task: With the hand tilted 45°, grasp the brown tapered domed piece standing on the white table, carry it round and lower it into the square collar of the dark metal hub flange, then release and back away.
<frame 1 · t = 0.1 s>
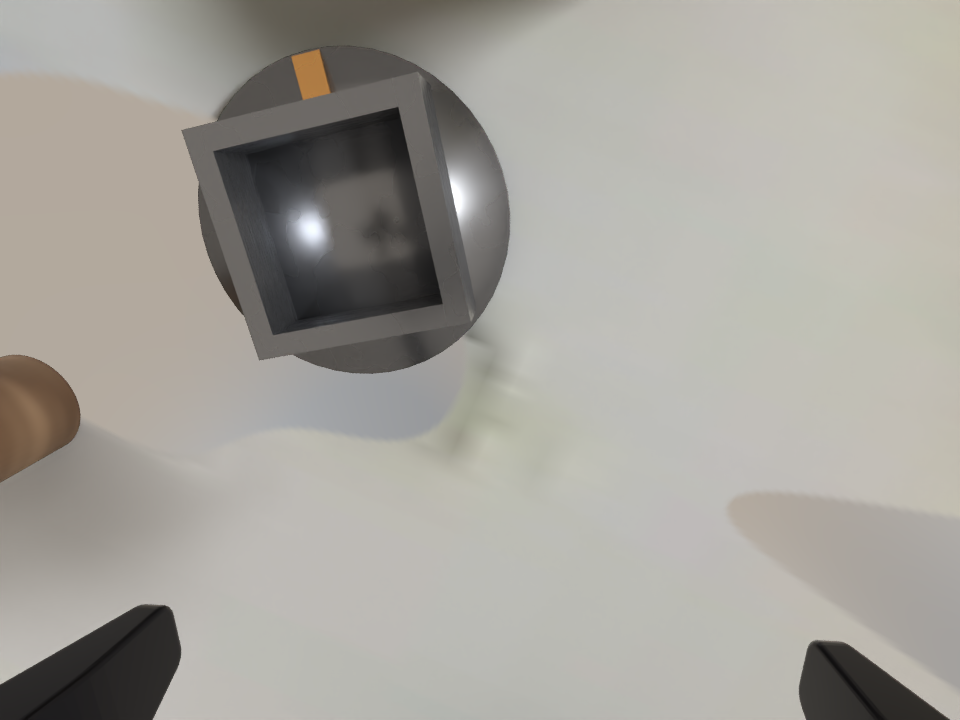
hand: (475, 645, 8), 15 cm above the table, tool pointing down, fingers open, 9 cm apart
hub: (356, 223, 20), on the table
brown tapered domed piece: (30, 404, 24), on the table
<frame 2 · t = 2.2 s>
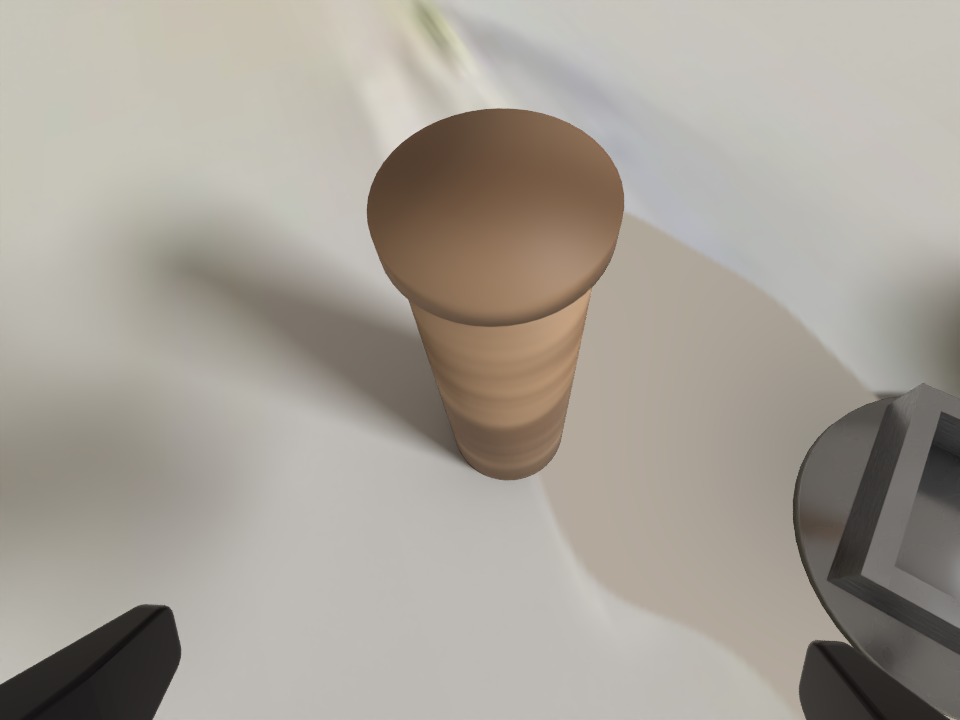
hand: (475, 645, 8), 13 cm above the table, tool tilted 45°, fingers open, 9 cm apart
brown tapered domed piece: (508, 427, 23), on the table
when the fingers open (9 cm above the table, at t = 9.4 s): brown tapered domed piece drops 1 cm, resting on hub.
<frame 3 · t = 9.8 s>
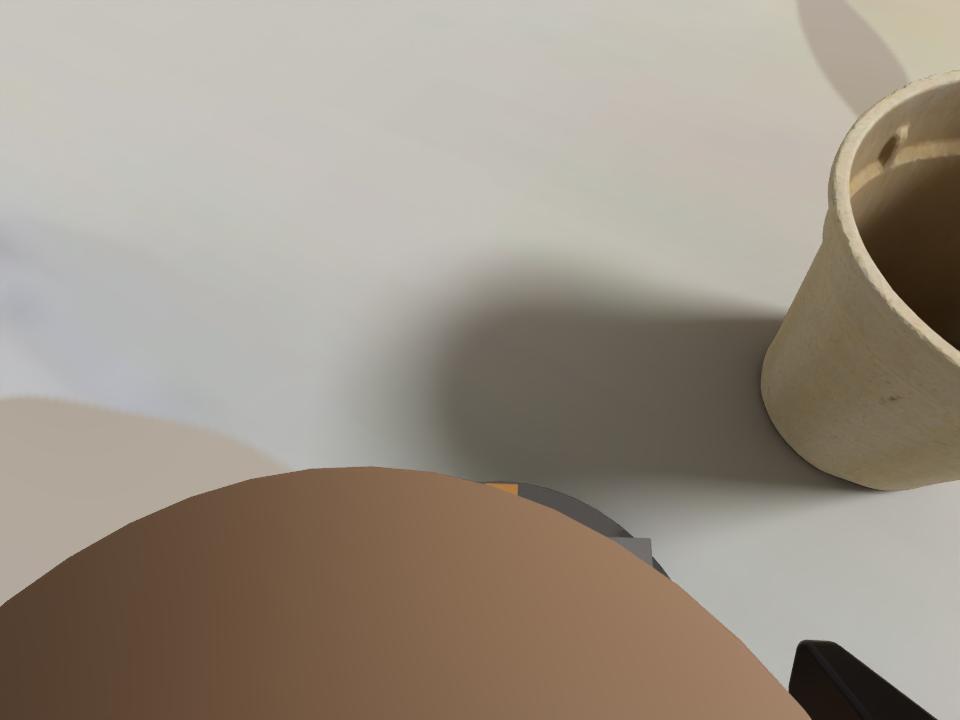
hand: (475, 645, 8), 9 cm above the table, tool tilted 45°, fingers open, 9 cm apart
hub: (496, 697, 15), on the table
brown tapered domed piece: (494, 702, 14), point 1 cm above the table, touching hub
flower pot: (849, 400, 18), on the table
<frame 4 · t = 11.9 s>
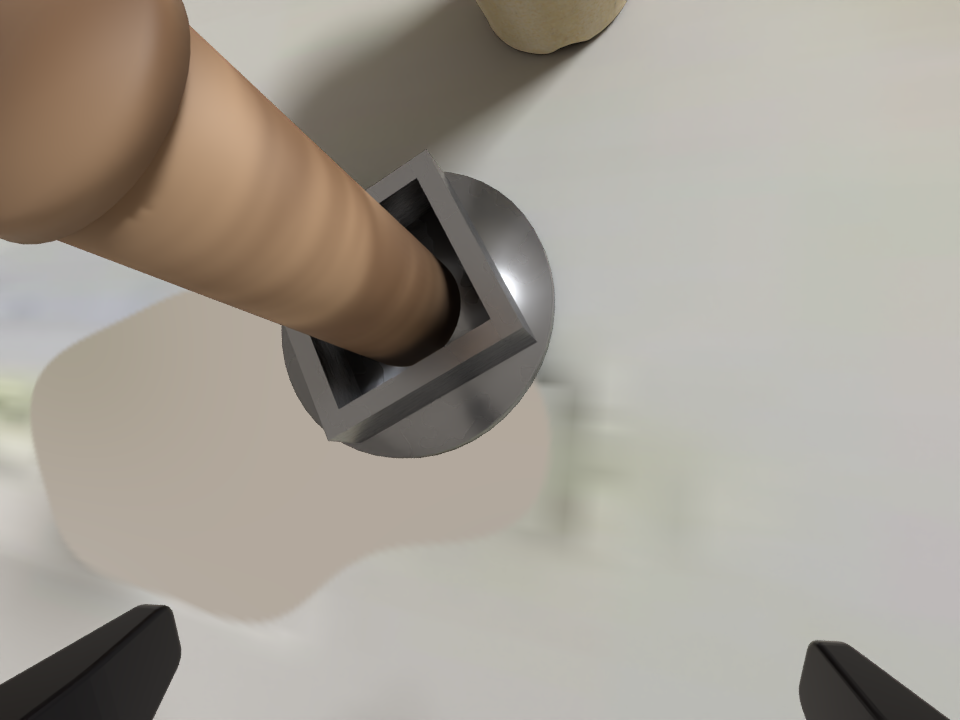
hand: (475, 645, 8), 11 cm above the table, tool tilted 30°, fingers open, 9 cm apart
hub: (412, 312, 22), on the table
brown tapered domed piece: (405, 309, 21), point 1 cm above the table, touching hub
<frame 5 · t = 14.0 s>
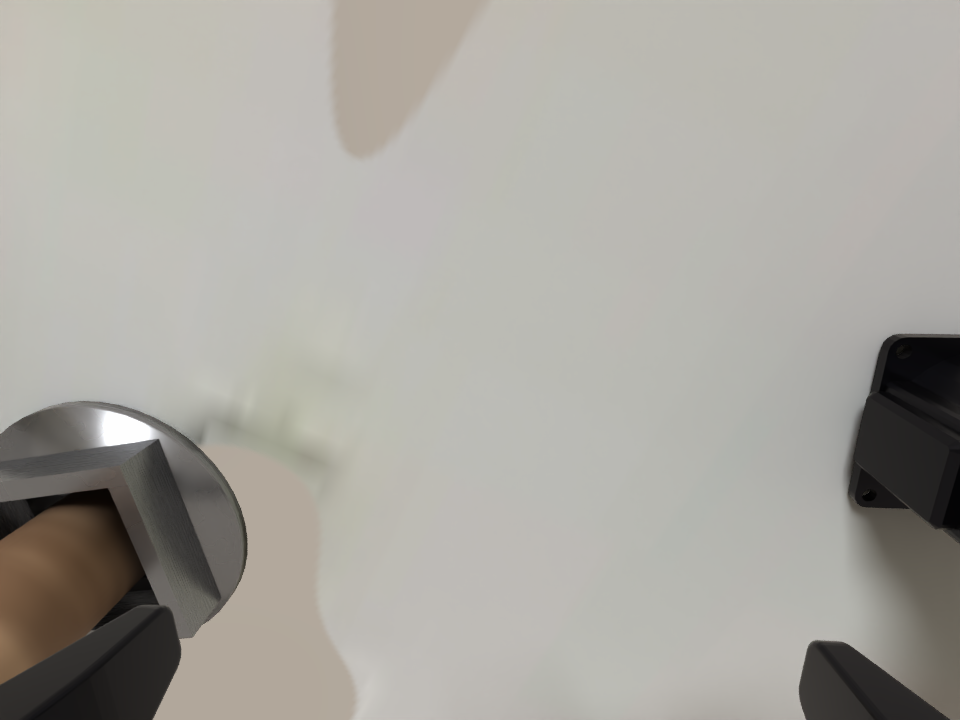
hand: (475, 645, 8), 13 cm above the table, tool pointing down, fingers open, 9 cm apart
hub: (119, 523, 24), on the table
brown tapered domed piece: (110, 532, 23), point 1 cm above the table, touching hub
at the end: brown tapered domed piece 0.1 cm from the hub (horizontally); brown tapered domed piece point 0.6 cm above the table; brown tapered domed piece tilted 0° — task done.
